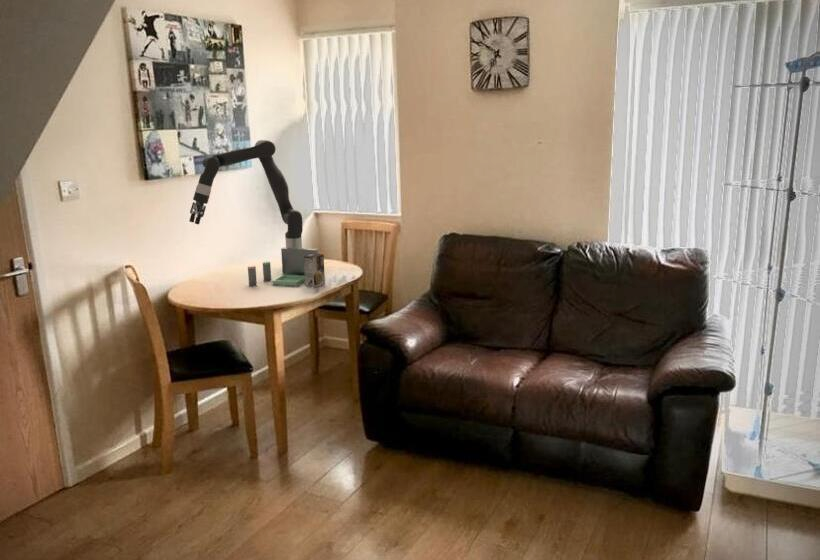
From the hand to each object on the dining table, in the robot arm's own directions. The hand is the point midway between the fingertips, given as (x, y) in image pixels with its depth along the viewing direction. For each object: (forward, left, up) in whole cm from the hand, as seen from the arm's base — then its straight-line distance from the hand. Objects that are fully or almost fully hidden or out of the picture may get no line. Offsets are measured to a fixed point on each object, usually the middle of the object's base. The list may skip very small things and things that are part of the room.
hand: (194, 223), depth 351 cm
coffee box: (-6, +64, -32) cm, 72 cm away
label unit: (-20, +50, -31) cm, 63 cm away
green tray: (-8, +49, -31) cm, 59 cm away
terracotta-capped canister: (+1, +32, -32) cm, 45 cm away
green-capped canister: (-10, +35, -32) cm, 48 cm away
